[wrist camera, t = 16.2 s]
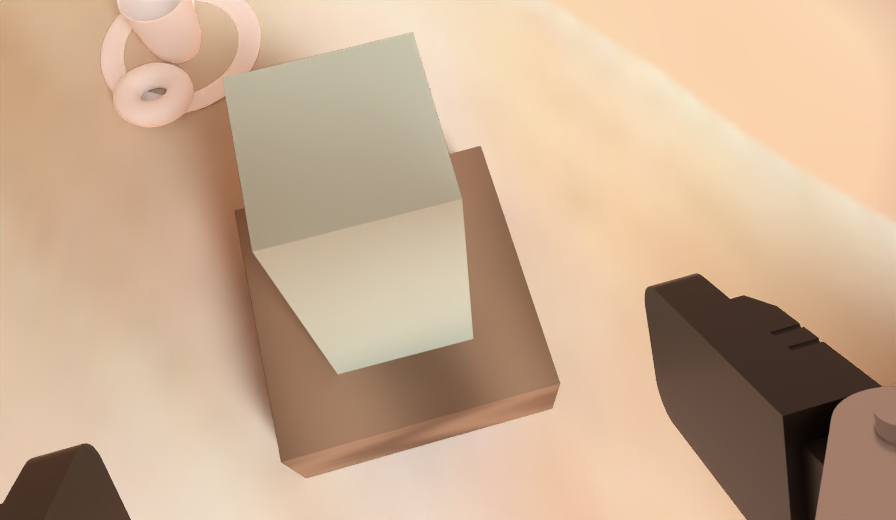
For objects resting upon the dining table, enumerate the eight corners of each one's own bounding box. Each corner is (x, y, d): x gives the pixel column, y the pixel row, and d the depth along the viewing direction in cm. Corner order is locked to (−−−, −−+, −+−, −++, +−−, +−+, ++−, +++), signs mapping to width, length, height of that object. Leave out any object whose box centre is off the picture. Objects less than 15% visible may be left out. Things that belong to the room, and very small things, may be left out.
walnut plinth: (306, 478, 31) (281, 462, 28) (261, 251, 35) (234, 211, 31) (552, 408, 32) (560, 383, 28) (482, 192, 36) (480, 146, 32)
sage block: (337, 374, 29) (252, 251, 19) (312, 250, 31) (222, 78, 20) (473, 339, 29) (462, 198, 19) (439, 218, 31) (412, 32, 21)
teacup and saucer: (170, 160, 38) (134, 112, 34) (60, 76, 40) (15, 22, 36) (296, 37, 40) (275, -21, 36) (185, -35, 42) (155, -97, 39)
